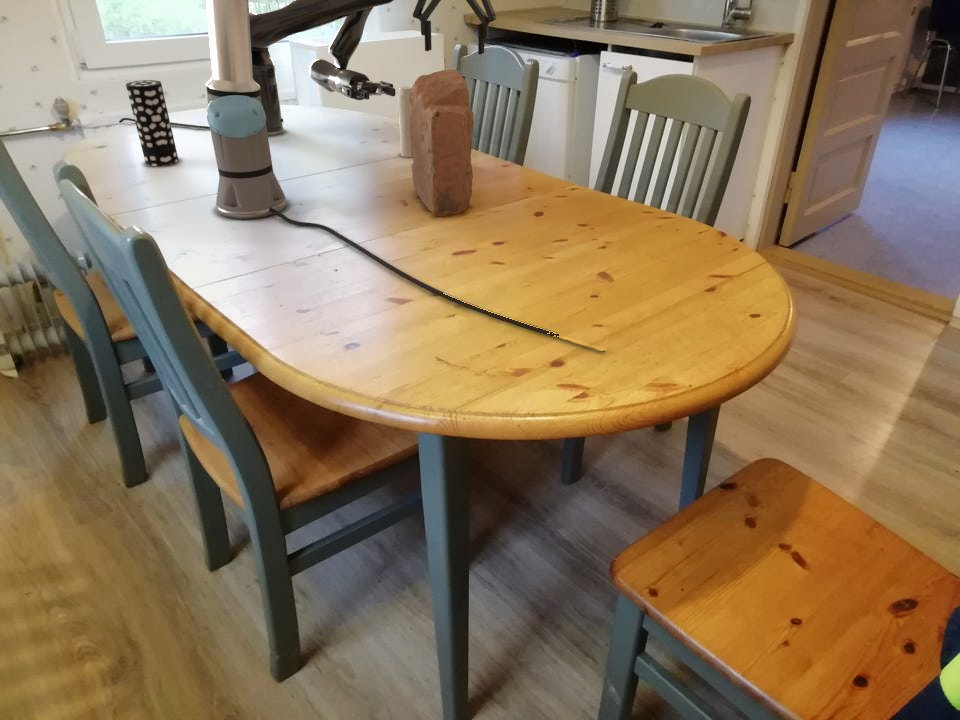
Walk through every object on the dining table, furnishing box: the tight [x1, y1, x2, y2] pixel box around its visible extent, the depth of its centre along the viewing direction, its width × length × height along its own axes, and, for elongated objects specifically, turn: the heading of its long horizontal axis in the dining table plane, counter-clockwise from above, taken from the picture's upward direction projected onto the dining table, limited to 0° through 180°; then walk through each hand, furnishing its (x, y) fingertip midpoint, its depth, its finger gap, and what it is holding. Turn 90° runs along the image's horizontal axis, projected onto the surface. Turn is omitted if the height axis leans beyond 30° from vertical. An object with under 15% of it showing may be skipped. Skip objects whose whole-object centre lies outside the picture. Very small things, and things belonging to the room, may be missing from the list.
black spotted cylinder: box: [125, 79, 179, 167], centre depth 181 cm, size 8×8×20 cm
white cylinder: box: [397, 86, 412, 158], centre depth 190 cm, size 4×4×18 cm
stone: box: [409, 69, 475, 217], centre depth 155 cm, size 22×11×28 cm, turn 18°
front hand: (454, 52), depth 169 cm, fingers open, 13 cm apart
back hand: (381, 94), depth 195 cm, fingers open, 8 cm apart
